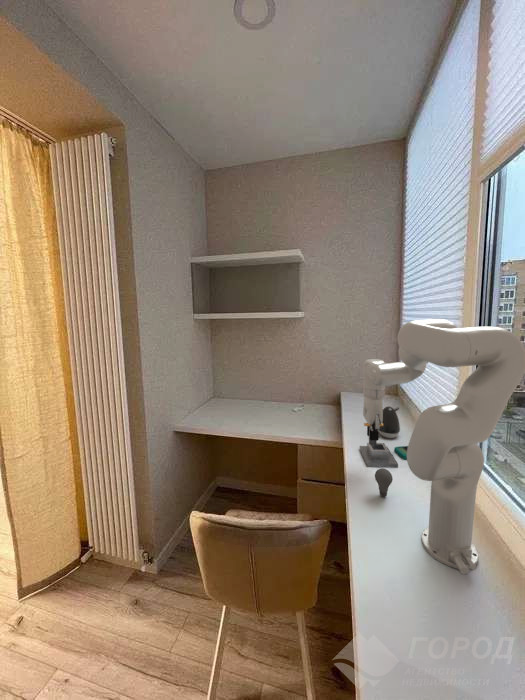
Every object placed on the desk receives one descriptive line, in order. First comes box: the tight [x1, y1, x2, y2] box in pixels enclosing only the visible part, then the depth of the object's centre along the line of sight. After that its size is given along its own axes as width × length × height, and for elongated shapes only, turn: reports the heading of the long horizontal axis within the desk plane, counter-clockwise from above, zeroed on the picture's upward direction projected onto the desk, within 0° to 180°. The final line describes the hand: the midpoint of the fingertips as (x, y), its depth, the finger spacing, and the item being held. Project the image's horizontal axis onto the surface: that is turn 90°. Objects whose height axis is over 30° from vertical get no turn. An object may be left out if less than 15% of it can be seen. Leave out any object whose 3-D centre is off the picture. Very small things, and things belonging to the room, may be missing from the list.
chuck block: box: [359, 442, 399, 468], centre depth 120 cm, size 16×12×5 cm
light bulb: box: [374, 467, 393, 498], centre depth 95 cm, size 6×6×10 cm
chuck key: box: [363, 422, 383, 445], centre depth 107 cm, size 7×3×9 cm, turn 83°
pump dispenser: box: [379, 406, 401, 439], centre depth 138 cm, size 10×10×15 cm
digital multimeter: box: [394, 445, 408, 460], centre depth 121 cm, size 7×15×3 cm, turn 95°
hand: (372, 437), depth 107 cm, fingers closed on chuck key, 2 cm apart
